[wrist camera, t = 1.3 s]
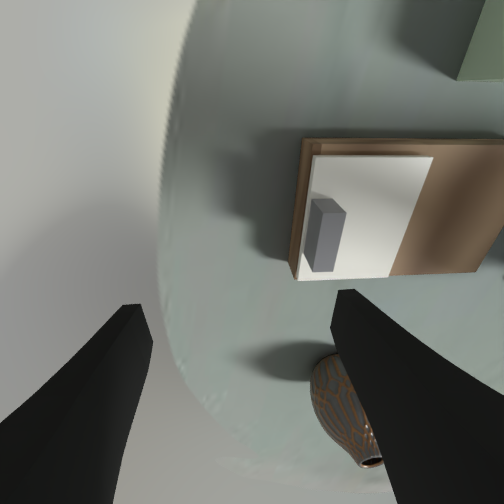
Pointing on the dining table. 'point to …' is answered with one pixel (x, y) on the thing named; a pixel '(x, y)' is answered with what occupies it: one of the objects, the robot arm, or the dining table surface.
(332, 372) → the vase
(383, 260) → the cover
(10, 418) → the robot arm
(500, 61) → the block
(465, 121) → the dining table surface
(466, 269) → the wooden tray
